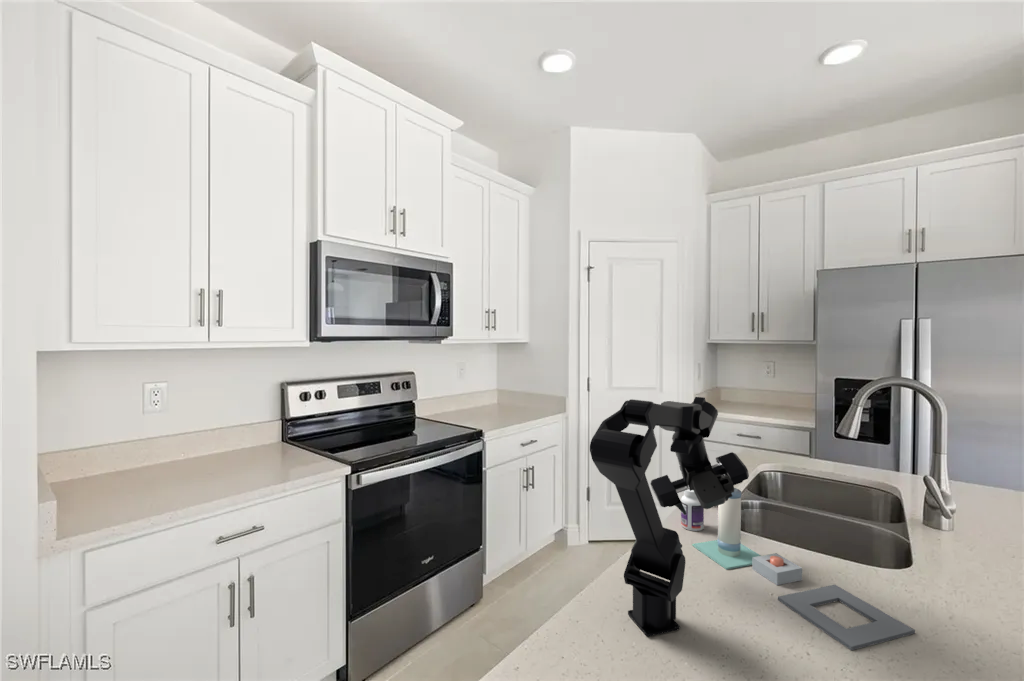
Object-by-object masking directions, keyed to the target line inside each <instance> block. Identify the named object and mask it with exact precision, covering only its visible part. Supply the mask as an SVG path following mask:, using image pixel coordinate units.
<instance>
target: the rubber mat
mask: <svg viewBox="0 0 1024 681" xmlns="http://www.w3.org/2000/svg"><path fill="white" fill-rule="evenodd" d="M691 546H692V547H694V548H695V549H696V550H698V551H699V552H700V553H702V554H704V555H705V556H707V557H708V558H709V559H711V560H712V561H714V562H715V563H717V565H719V566H720V567H722V568H724V569H725V570H726V571H727V570H732V569H736V568H737V569H738V568H743V567H748V566H752V557H757V556H762V555H761V554H759V553H758V552H756V551H755V550H753V549H752V548H751V549H750V548H749V547H748V546H746V545H745V544H742V543H741V549H740V556H737V557H729V556H725V555H723V554H721V553H719V552H718V539H715V540H709V541H708V540H707V541H703V542H696V543H692V545H691Z"/></svg>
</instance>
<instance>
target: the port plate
mask: <svg viewBox="0 0 1024 681" xmlns="http://www.w3.org/2000/svg"><path fill="white" fill-rule="evenodd" d="M777 600H778V601H779V602H780V603H781V604H783V605H785V606H786V607H788V608H789V609H791V610H792V611H793V612H794V613H797V614H798V615H799V616H800V617H802V618H804V619H805V620H807V621H808V622H809V623H811V624H812V625H814V626H815V627H816V628H818V629H820V630H821V631H822V632H824V633H826V634H827V635H828V636H830V637H831V638H832V639H834V640H835V641H837V642H838V643H840V644H841V645H843V646H844V647H846V648H847V649H848V650H850V651H855V650H859V649H861V648H866V647H871V646H874V645H878V644H881V643H885V642H888V641H892V640H895V639H899V638H900V639H901V638H903V637H906V636H910V635H914V634H916V629H914V628H912V627H910V626H909V625H908V624H905V623H904V622H902V621H900V620H899V619H896V618H894V617H893V616H891V615H890V614H889V613H886V612H885V611H883V610H880V609H879V608H877V607H875V606H873V605H871V604H870V603H868V602H866V601H865V600H863V599H862V598H860V597H858V596H856V595H854V594H853V593H851V592H850V591H847V590H846V589H844V588H842V587H840V586H839V585H836V584H831V585H825V586H822V587H816V588H812V589H811V588H810V589H808V590H807V589H806V590H803V591H798V592H793V593H789V594H785V595H779V596H777ZM834 601H835V602H838V601H839V603H842V604H843V605H845V606H846V607H848V608H850V609H851V610H853V611H855V612H856V613H858V614H860V615H861V616H863V617H865V619H868V620H870V622H868V623H867V622H866V623H864V624H859V625H855V626H851V627H848V628H847V627H845V626H843V625H842V624H840V623H839V622H837V621H836V620H834V619H833V618H831V617H830V616H828V615H826V613H823V612H822V611H820V610H819V609H817V608H816V607H817V606H821V605H826V604H831V603H834Z"/></svg>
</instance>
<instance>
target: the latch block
mask: <svg viewBox="0 0 1024 681" xmlns="http://www.w3.org/2000/svg"><path fill="white" fill-rule="evenodd" d="M771 556H778V557H781V558H782V559H783V560H784V563H783V566H780V567H776V566H774V565H773V564H771V563H770V557H771ZM751 566H752V568H751V570H753V571H755V572H756V573H757V574H759V575H761V576H762V577H763V578H765V579H767V580H768V581H769V582H771V583H773V584H774V585H776V586H781V585H785V584H791V583H795V582H799V581H803V567H802V566H799V565H798V564H796V563H794V562H793V561H791V560H789V559H788V558H786V557H784V556H782V555H781V554H779V553H778V552H775V553H770V554H764V555H761V556H757V557H752V565H751Z"/></svg>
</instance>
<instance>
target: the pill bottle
mask: <svg viewBox="0 0 1024 681" xmlns="http://www.w3.org/2000/svg"><path fill="white" fill-rule="evenodd" d="M680 500H681V502H682V505H683V507H684V509H685V511H686V515H684V514H683V513H682V512H681V511H680V525H681V527H682V528H683V529H686V530H687V531H693V532H698V531H699V532H700V531H702V530H703V529H704V528H705V524H704V522H705V520H704V519H705V516H704V514H705V513H704V512H705V509H704V508H703V507H702V506H701V504H700V502H699V500H698V498H697V496H696V494H695V493H694V490H691V491H690V490H689V489H688V490H685V491H683V495H682V496H681V498H680Z"/></svg>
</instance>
